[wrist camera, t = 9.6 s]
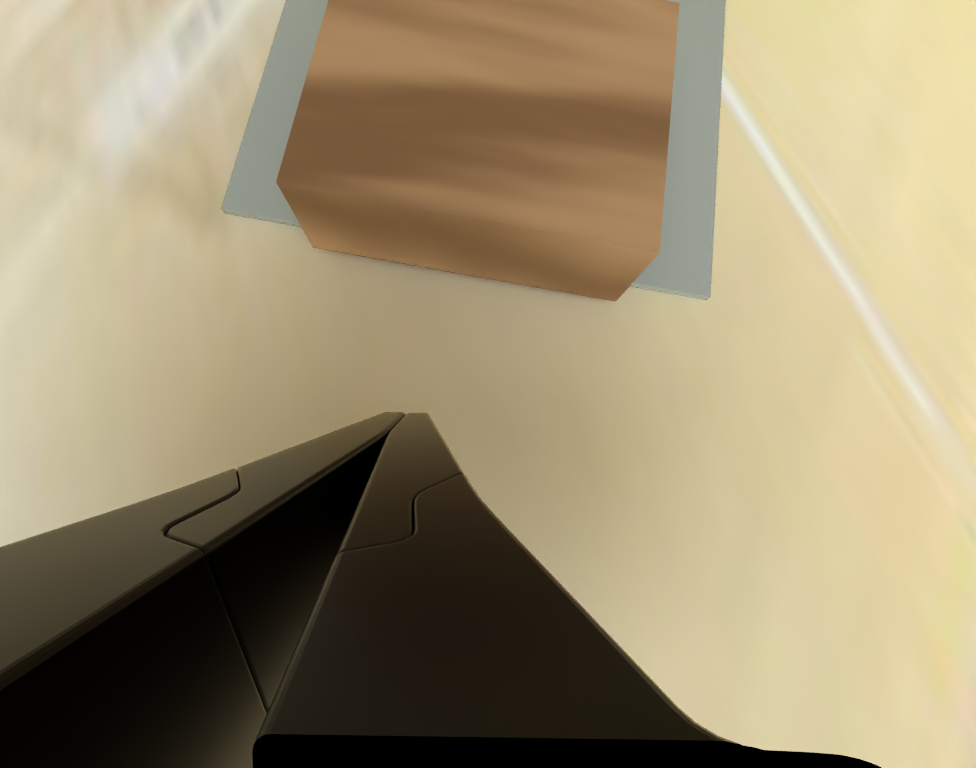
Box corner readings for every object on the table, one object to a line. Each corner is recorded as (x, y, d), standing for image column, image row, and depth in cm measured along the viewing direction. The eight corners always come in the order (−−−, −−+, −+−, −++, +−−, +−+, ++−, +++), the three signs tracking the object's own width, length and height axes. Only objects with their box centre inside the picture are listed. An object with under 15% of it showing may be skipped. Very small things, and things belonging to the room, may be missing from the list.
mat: (706, 299, 20) (710, 296, 20) (224, 212, 19) (220, 208, 19) (722, 0, 23) (725, -6, 23) (316, -86, 22) (315, -93, 22)
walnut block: (659, 253, 15) (679, 3, 17) (275, 182, 14) (347, -67, 16) (612, 304, 19) (633, 99, 21) (315, 251, 19) (368, 45, 21)
